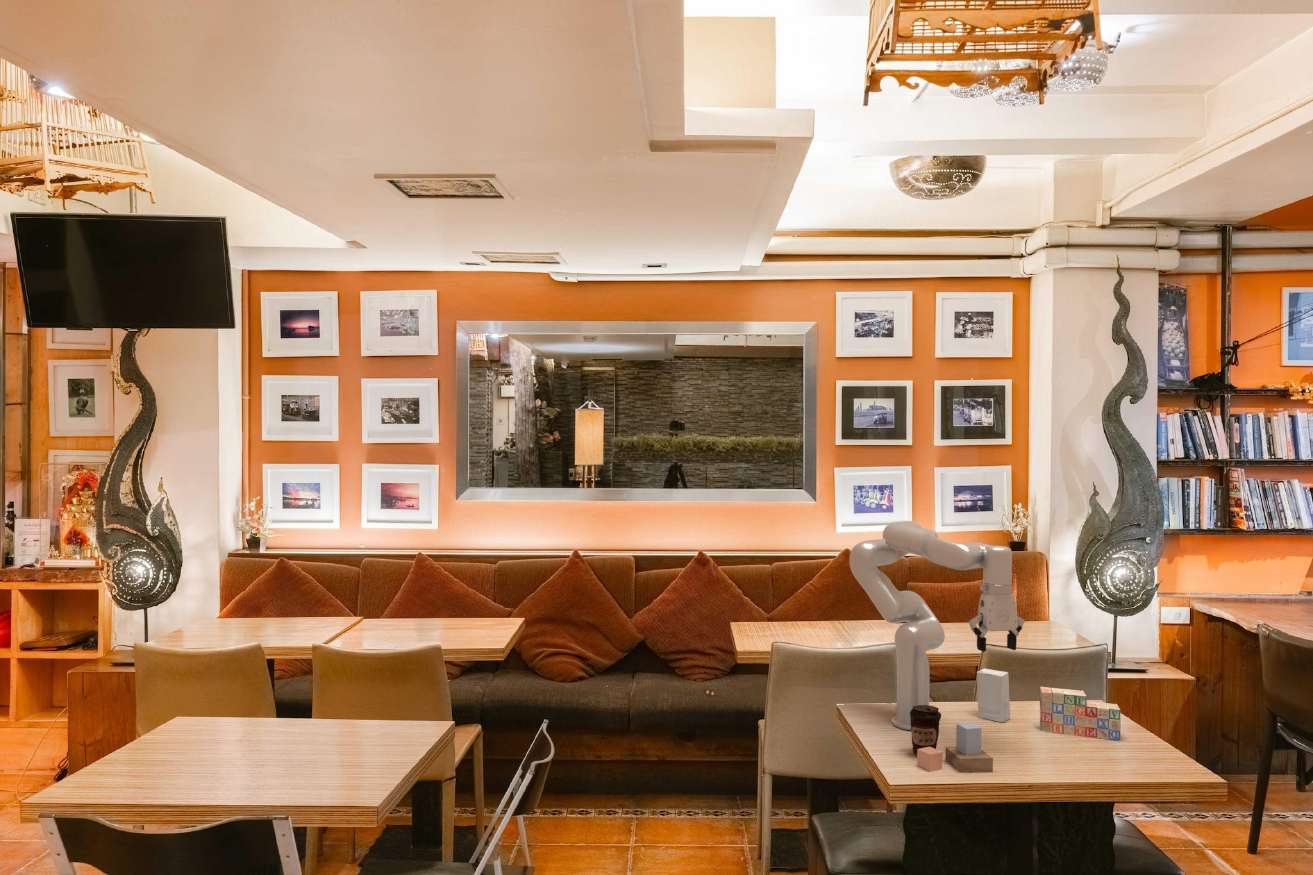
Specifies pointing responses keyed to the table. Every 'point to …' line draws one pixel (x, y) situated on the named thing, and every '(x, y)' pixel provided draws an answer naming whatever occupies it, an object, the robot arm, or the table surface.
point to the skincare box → (993, 695)
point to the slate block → (968, 738)
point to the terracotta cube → (929, 758)
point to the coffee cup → (924, 726)
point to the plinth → (968, 761)
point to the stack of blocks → (1077, 714)
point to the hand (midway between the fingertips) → (996, 649)
